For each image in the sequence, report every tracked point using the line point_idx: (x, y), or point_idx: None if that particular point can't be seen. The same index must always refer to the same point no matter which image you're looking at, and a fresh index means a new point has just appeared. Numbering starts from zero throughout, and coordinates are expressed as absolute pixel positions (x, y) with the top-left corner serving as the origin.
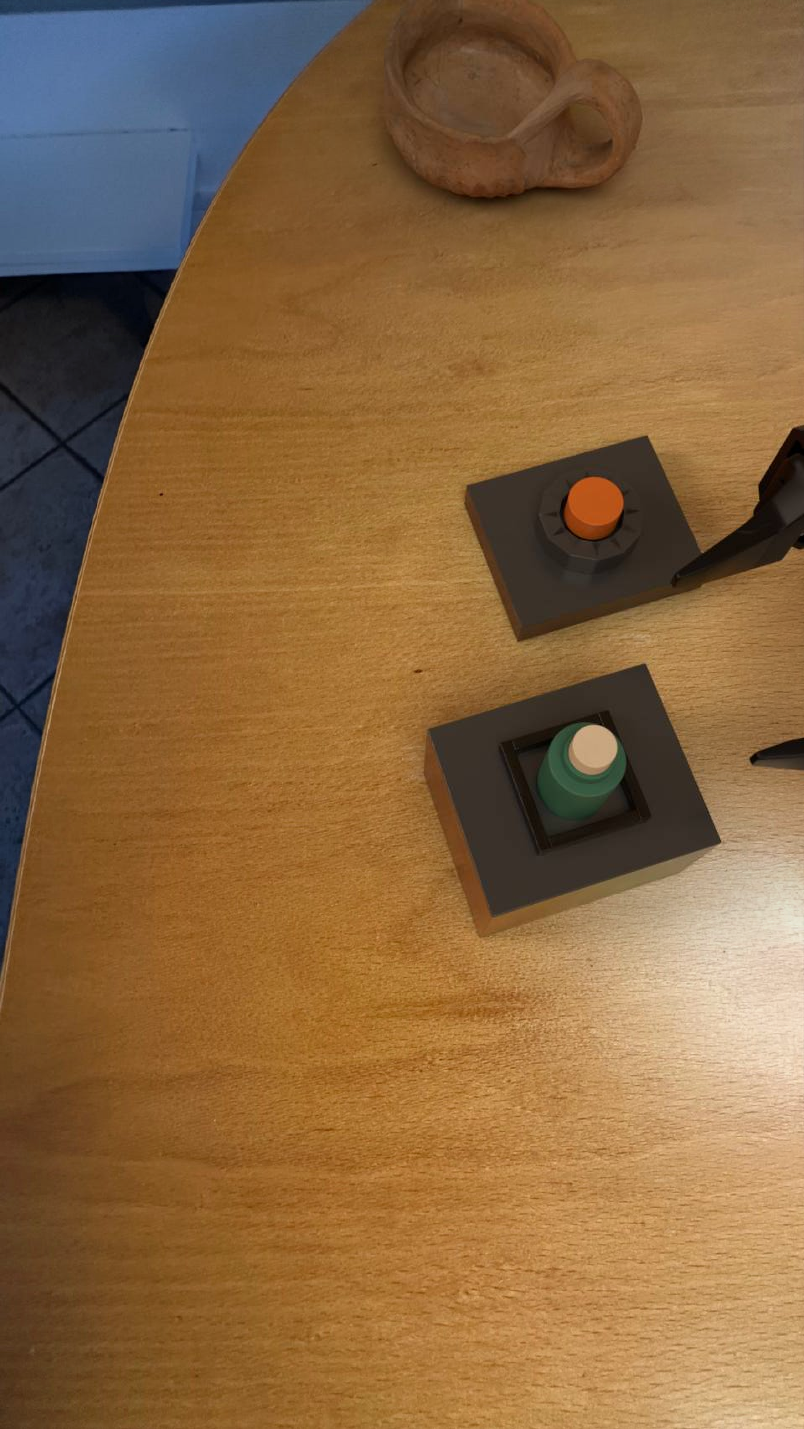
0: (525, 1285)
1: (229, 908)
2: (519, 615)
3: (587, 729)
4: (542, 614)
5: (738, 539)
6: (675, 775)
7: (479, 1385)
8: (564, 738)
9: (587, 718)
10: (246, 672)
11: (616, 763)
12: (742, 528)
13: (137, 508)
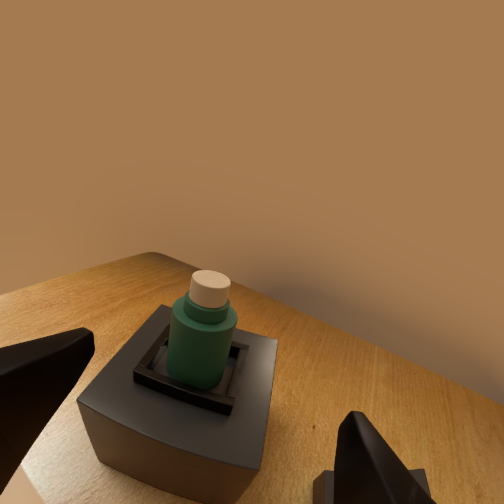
0: (57, 300)
1: (237, 325)
2: (333, 471)
3: (227, 282)
4: (329, 485)
5: (402, 482)
6: (145, 420)
7: (57, 282)
8: (229, 312)
9: (235, 391)
10: (334, 370)
11: (187, 318)
12: (419, 489)
13: (408, 366)
